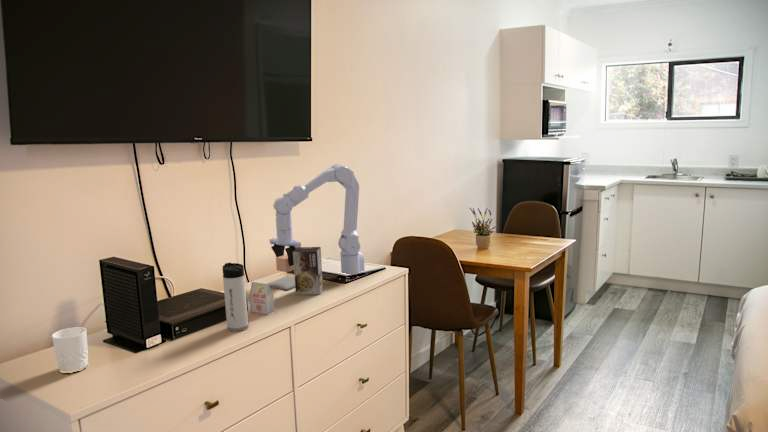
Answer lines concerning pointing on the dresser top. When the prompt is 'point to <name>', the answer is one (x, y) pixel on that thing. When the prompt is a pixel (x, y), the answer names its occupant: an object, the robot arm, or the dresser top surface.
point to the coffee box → (308, 270)
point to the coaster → (283, 283)
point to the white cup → (71, 348)
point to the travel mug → (235, 296)
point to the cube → (283, 264)
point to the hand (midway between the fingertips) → (286, 264)
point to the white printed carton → (261, 298)
